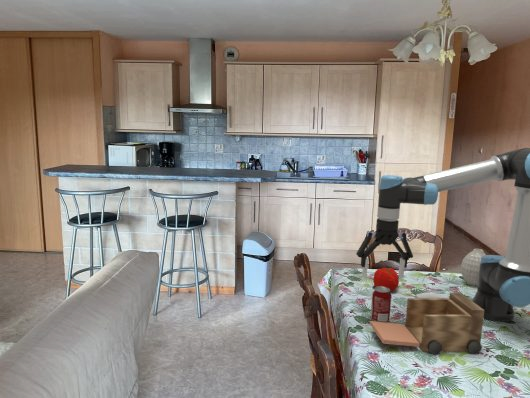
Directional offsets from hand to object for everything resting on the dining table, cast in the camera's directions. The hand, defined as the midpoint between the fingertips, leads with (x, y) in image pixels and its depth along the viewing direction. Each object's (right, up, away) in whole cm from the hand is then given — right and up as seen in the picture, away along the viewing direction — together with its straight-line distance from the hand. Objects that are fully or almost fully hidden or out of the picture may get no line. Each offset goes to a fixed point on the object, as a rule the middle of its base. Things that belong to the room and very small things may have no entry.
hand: (382, 275), depth 151 cm
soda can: (0, -17, +3) cm, 17 cm away
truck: (+16, -20, -11) cm, 28 cm away
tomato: (+11, -12, +34) cm, 37 cm away
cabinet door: (+6, -18, -12) cm, 22 cm away
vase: (+55, -12, +43) cm, 71 cm away
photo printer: (+16, -18, -3) cm, 25 cm away
